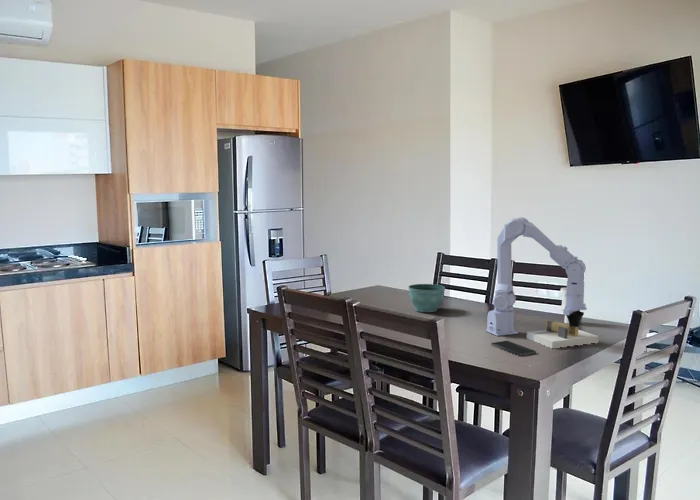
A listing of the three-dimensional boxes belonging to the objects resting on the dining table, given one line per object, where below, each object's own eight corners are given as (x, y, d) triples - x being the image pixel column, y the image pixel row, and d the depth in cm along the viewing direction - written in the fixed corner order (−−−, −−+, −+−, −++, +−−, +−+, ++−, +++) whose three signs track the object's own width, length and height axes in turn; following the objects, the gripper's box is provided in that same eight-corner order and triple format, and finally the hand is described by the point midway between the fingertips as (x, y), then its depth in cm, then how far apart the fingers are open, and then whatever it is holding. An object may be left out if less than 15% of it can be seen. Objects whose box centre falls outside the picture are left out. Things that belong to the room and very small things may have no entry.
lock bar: (544, 329, 211) (545, 321, 211) (549, 328, 213) (549, 320, 213) (574, 336, 202) (574, 327, 201) (578, 335, 203) (579, 326, 203)
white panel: (552, 348, 197) (552, 331, 196) (526, 338, 210) (527, 322, 209) (598, 343, 204) (599, 326, 203) (570, 333, 217) (571, 317, 216)
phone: (519, 354, 188) (490, 342, 201) (519, 357, 188) (489, 346, 201) (537, 351, 191) (507, 340, 205) (537, 354, 191) (507, 343, 205)
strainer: (581, 324, 231) (582, 287, 229) (564, 325, 230) (566, 288, 228) (571, 320, 238) (573, 284, 236) (555, 320, 237) (557, 285, 235)
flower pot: (413, 305, 266) (413, 282, 265) (448, 308, 261) (448, 284, 259) (403, 312, 252) (404, 288, 250) (440, 316, 246) (440, 291, 244)
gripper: (578, 298, 196) (576, 337, 197) (594, 292, 206) (593, 329, 208) (557, 296, 201) (556, 333, 202) (575, 290, 211) (573, 326, 212)
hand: (573, 331), depth 205 cm, fingers closed, pressing on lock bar
